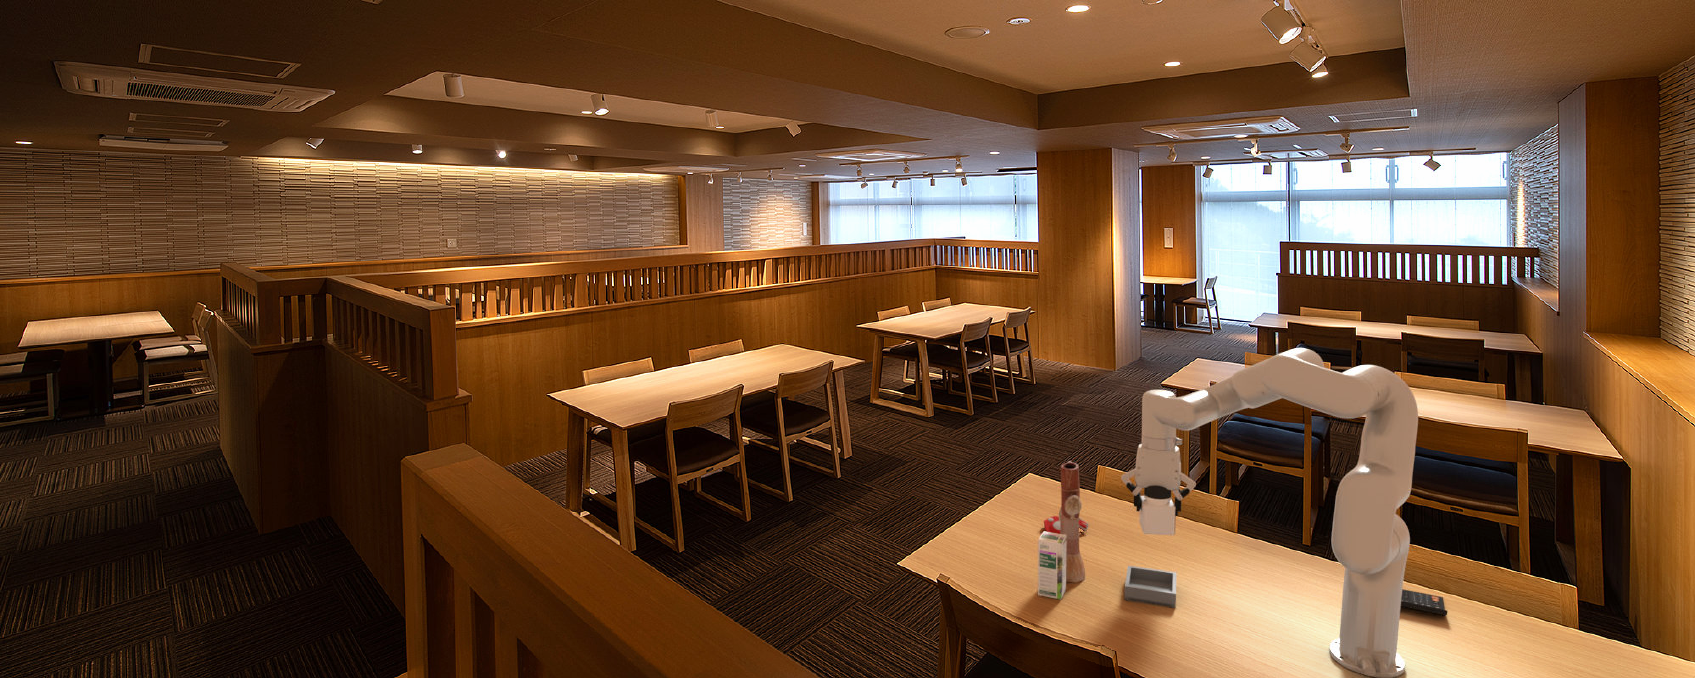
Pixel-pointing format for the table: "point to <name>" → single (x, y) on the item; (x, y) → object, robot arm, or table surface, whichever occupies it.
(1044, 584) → the syrup box
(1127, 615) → the table surface
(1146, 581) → the bin
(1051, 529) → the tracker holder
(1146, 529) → the medicine bottle
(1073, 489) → the vase
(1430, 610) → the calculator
